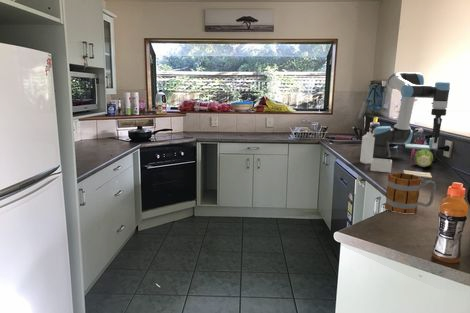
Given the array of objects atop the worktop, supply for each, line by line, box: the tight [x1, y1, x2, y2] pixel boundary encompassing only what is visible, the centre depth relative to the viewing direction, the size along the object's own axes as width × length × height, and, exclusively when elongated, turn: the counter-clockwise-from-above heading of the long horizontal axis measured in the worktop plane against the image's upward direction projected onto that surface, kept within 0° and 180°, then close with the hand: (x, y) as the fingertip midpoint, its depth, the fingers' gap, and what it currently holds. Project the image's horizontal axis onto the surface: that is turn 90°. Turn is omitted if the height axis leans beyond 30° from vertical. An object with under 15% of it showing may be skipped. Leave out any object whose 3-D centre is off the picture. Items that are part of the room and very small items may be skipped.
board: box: [403, 169, 433, 179], centre depth 216 cm, size 11×15×1 cm
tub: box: [369, 157, 393, 174], centre depth 223 cm, size 10×12×7 cm
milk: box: [359, 131, 375, 164], centre depth 242 cm, size 6×6×22 cm
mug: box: [384, 172, 437, 214], centre depth 151 cm, size 20×14×15 cm
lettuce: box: [413, 149, 434, 168], centre depth 237 cm, size 12×21×11 cm, turn 152°
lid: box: [404, 137, 437, 151], centre depth 212 cm, size 11×17×6 cm, turn 66°
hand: (433, 147), depth 209 cm, fingers closed on lid, 4 cm apart
